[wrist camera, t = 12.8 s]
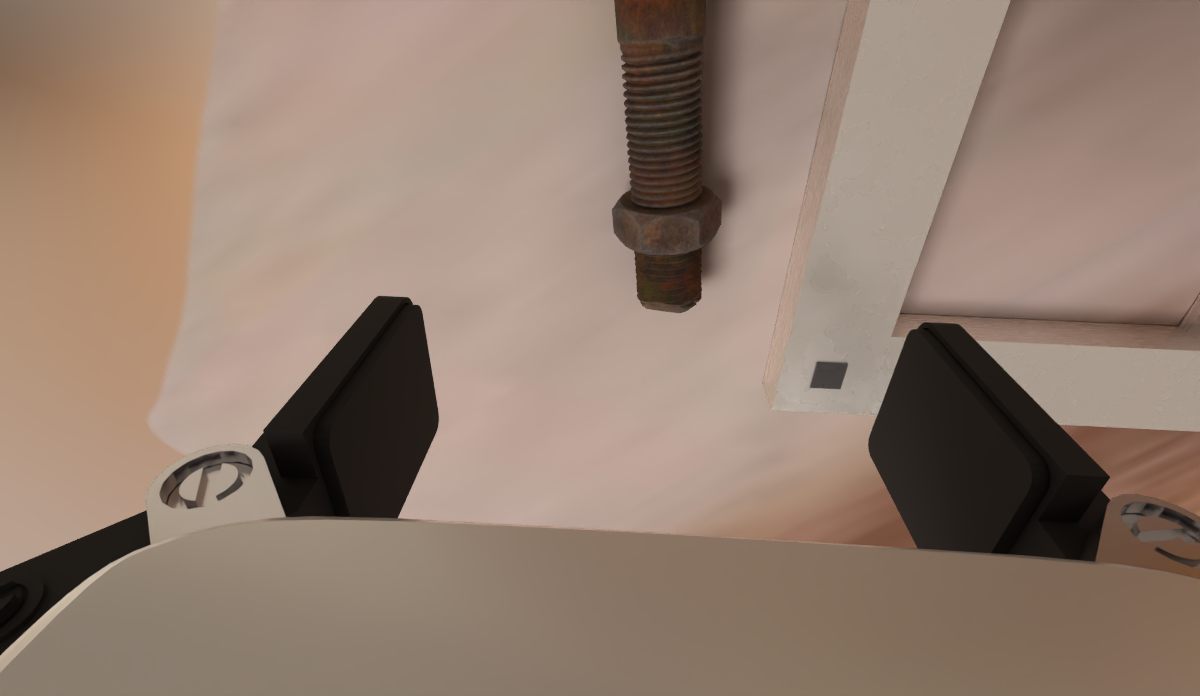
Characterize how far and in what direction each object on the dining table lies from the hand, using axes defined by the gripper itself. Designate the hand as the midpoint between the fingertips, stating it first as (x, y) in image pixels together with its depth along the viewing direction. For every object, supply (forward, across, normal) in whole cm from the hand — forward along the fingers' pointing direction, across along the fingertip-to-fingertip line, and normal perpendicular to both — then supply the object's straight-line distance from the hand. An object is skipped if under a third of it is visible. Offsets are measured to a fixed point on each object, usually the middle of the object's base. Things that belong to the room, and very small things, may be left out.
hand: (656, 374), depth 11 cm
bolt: (+19, -1, -1) cm, 19 cm away
